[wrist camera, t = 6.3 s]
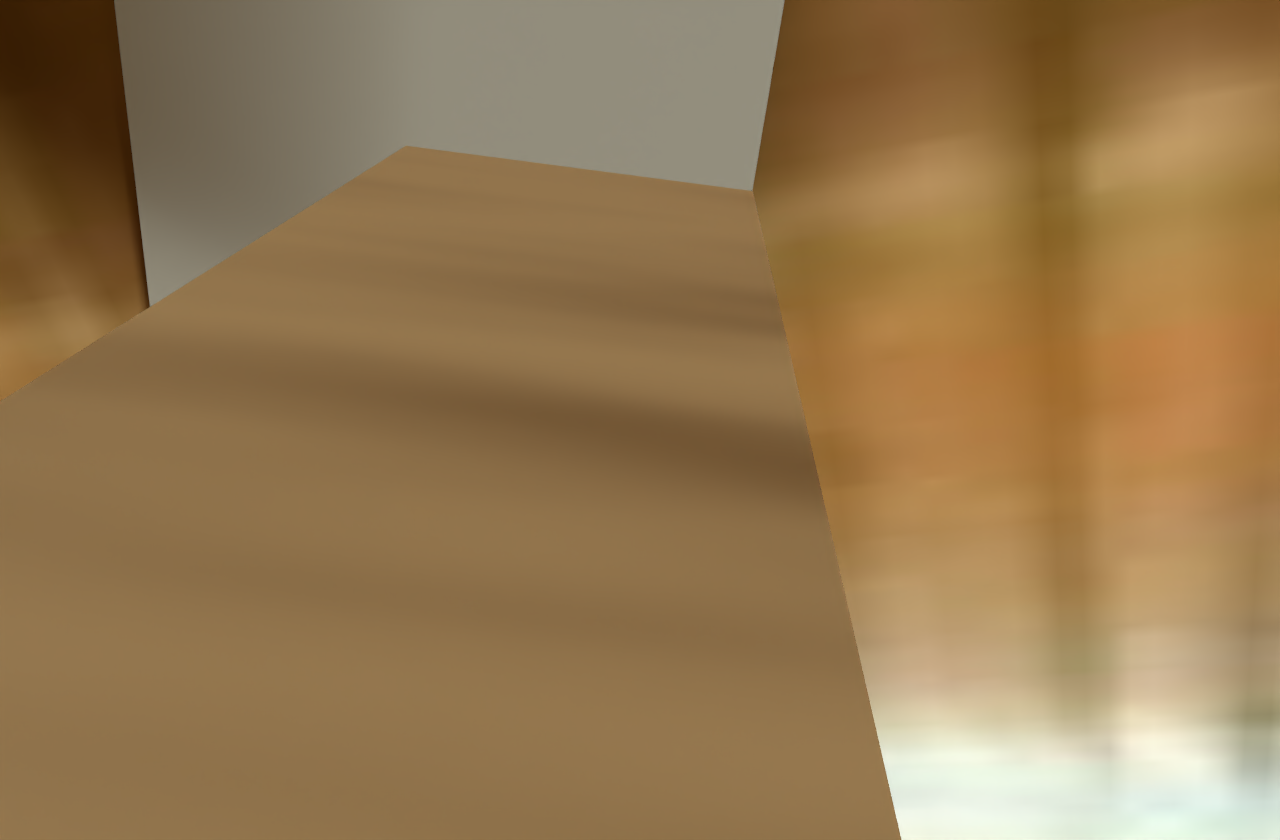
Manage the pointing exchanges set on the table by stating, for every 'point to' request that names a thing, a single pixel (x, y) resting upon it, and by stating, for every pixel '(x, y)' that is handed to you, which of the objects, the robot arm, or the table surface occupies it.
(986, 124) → the table surface
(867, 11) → the table surface
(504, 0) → the mat
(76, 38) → the table surface
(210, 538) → the slab
